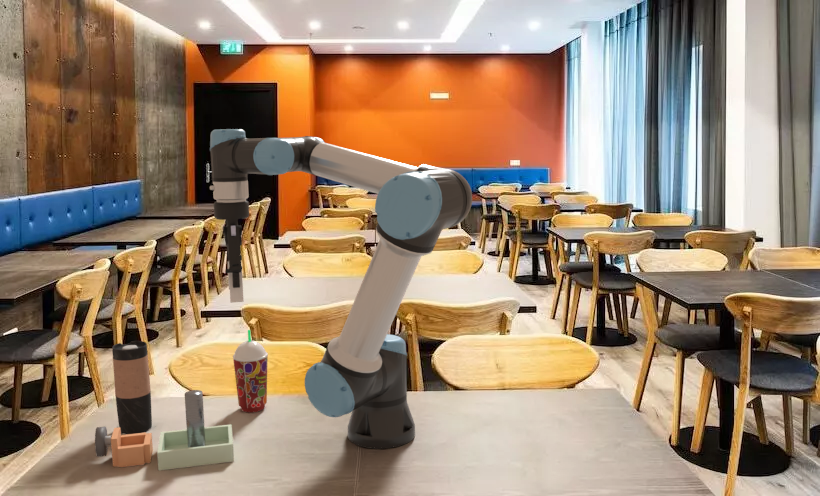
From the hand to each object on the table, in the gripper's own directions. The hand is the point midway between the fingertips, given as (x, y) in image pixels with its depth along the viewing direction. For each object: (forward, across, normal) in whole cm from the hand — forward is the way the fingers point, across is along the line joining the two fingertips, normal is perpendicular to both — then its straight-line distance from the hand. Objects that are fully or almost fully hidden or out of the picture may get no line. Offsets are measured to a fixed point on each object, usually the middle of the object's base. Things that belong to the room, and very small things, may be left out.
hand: (235, 295), depth 170 cm
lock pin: (+31, +11, -10) cm, 34 cm away
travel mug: (+32, -8, -24) cm, 41 cm away
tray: (+32, +11, -10) cm, 35 cm away
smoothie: (+32, -13, +3) cm, 35 cm away
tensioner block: (+32, +9, -25) cm, 41 cm away
